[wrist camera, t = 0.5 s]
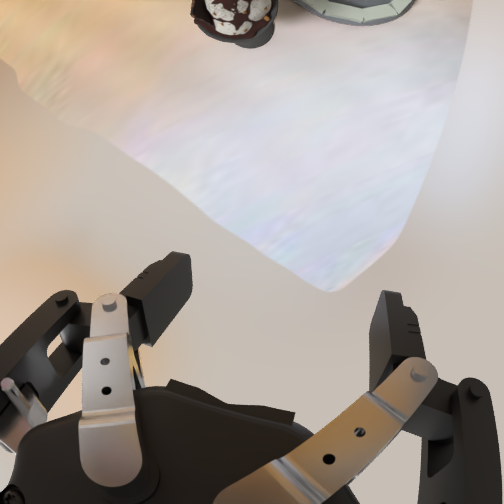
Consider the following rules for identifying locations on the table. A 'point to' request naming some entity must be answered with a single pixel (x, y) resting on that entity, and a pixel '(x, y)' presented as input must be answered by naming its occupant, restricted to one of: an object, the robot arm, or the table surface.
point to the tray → (357, 10)
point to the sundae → (236, 20)
